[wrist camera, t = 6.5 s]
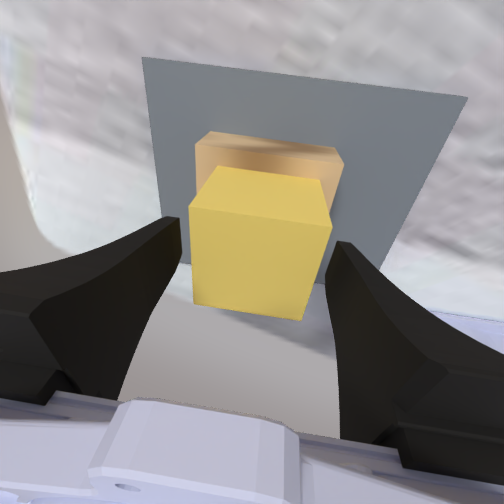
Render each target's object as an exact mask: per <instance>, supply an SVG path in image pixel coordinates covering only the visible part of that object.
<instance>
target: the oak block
mask: <svg viewBox="0 0 504 504" xmlns="http://www.w3.org/2000/svg"><path fill="white" fill-rule="evenodd" d="M195 160H196V190H197V194H198V192H199V191H200V189H201V188H202V187H203V185H204V184H205V182H206V181H207V180H208V178H209V177H210V175H211V174H212V173H213V171H214V170H215V168H216V167H217V166H223V167H231V168H238V169H245V170H252V171H259V172H267V173H274V174H281V175H288V176H295V177H303V178H310V179H317V180H320V183H321V187H322V190H323V194H324V198H325V201H326V205H327V209H328V212H330V209H331V206H332V203H333V199H334V196H335V193H336V190H337V186H338V183H339V180H340V177H341V174H342V170H343V167H344V163H343V161H342V159H341V158H340V156H339V154H338V152H337V150H336V149H335V148H334V147H327V146H319V145H311V144H304V143H296V142H289V141H281V140H274V139H266V138H258V137H251V136H243V135H236V134H228V133H221V132H213V131H210V132H209V133H208V134H207V135H205V136H204V137H203V138H202V139H201V140H199V141H198V142H197V143H196V144H195Z"/></svg>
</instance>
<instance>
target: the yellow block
mask: <svg viewBox="0 0 504 504" xmlns="http://www.w3.org/2000/svg"><path fill="white" fill-rule="evenodd" d="M188 208H189V227H190V246H191V264H192V283H193V302H194V304H196V305H202V306H209V307H215V308H221V309H228V310H234V311H240V312H247V313H253V314H259V315H266V316H272V317H278V318H285V319H291V320H297V321H301V320H302V317H303V314H304V311H305V308H306V305H307V302H308V299H309V296H310V293H311V290H312V287H313V284H314V281H315V278H316V275H317V272H318V269H319V266H320V263H321V260H322V258H323V255H324V252H325V249H326V246H327V243H328V240H329V237H330V234H331V231H332V228H333V227H332V223H331V219H330V216H329V212H328V209H327V205H326V201H325V198H324V194H323V190H322V187H321V183H320V180H317V179H310V178H303V177H295V176H288V175H281V174H274V173H267V172H259V171H252V170H245V169H238V168H231V167H223V166H217V167H216V168H215V170H214V171H213V173H212V174H211V175H210V177H209V178H208V180H207V181H206V182H205V184H204V185H203V187H202V188H201V189H200V191H199V192H198V194H197V195H196V196H195V198H194V199H193V201H192V202H191V203H190V205H189V206H188Z"/></svg>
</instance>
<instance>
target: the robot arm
mask: <svg viewBox="0 0 504 504" xmlns="http://www.w3.org/2000/svg"><path fill="white" fill-rule="evenodd" d="M181 256H182V241H181V229H180V218H178V217H171V216H165V217H163V218H161V219H158V220H156V221H154V222H153V223H151V224H149V225H147V226H145V227H143V228H141V229H139V230H137V231H135V232H133V233H131V234H129V235H127V236H124V237H122V238H120V239H118V240H116V241H114V242H111V243H109V244H107V245H104V246H102V247H99V248H96V249H93V250H91V251H88V252H85V253H82V254H79V255H75V256H72V257H68V258H65V259H61V260H58V261H54V262H50V263H46V264H42V265H37V266H33V267H28V268H23V269H18V270H13V271H7V272H0V504H504V322H498V321H491V320H485V319H478V318H471V317H465V316H458V315H452V314H445V313H439V312H432V311H428V310H426V309H425V308H423V307H422V306H420V305H419V304H418V303H416V302H415V301H414V300H412V299H411V298H410V297H409V296H407V295H406V294H405V293H403V292H402V291H401V290H400V289H399V288H397V287H396V286H395V285H394V284H393V283H392V282H391V281H389V280H388V279H387V278H386V277H385V276H384V275H383V274H382V273H381V272H380V271H379V270H378V269H377V268H376V267H375V266H374V265H373V264H372V263H371V262H370V261H369V260H368V259H367V258H366V257H365V256H364V255H363V254H362V253H361V252H360V251H359V250H358V249H357V248H356V247H355V246H354V245H353V244H352V243H351V242H344V241H337V242H336V245H335V248H334V250H333V253H332V256H331V259H330V262H329V264H328V267H327V270H326V273H325V291H326V298H327V303H328V309H329V314H330V319H331V324H332V328H333V333H334V339H335V346H336V357H337V368H338V369H337V370H338V386H339V409H340V439H336V438H330V437H325V436H318V435H313V434H307V433H301V432H295V431H293V430H292V429H291V428H289V427H288V426H286V425H285V424H284V423H282V422H280V421H276V420H273V419H270V418H266V417H262V416H258V415H253V414H247V413H241V412H235V411H229V410H223V409H217V408H211V407H206V406H199V405H194V404H188V403H182V402H176V401H170V400H165V399H158V398H139V397H138V398H135V399H132V400H129V401H127V402H120V401H117V399H118V396H119V394H120V391H121V388H122V385H123V382H124V379H125V376H126V374H127V371H128V368H129V366H130V363H131V361H132V358H133V355H134V353H135V350H136V348H137V345H138V343H139V340H140V338H141V336H142V333H143V331H144V329H145V327H146V324H147V322H148V320H149V317H150V315H151V313H152V311H153V309H154V308H155V306H156V304H157V303H158V301H159V299H160V297H161V296H162V294H163V292H164V290H165V289H166V287H167V285H168V284H169V282H170V280H171V278H172V277H173V275H174V273H175V271H176V269H177V266H178V264H179V261H180V259H181Z"/></svg>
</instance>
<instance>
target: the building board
mask: <svg viewBox="0 0 504 504" xmlns="http://www.w3.org/2000/svg"><path fill="white" fill-rule="evenodd" d="M142 64H143V72H144V80H145V88H146V95H147V103H148V111H149V119H150V127H151V135H152V143H153V151H154V159H155V166H156V174H157V182H158V190H159V198H160V206H161V214H162V218H163V217H165V216H171V217H178V218H180V229H181V241H182V256H181V259H180V261H179V262H182V263H188V264H191V246H190V227H189V208H188V206H189V205H190V203H191V202H192V201H193V199H194V198H195V196H196V195H197V190H196V160H195V144H196V143H197V142H198V141H199V140H201V139H202V138H203V137H204V136H205V135H207V134H208V133H209V132H210V131H213V132H221V133H228V134H236V135H243V136H251V137H258V138H266V139H274V140H281V141H289V142H296V143H304V144H311V145H319V146H327V147H334V148H335V149H336V150H337V152H338V154H339V156H340V158H341V159H342V161H343V163H344V167H343V170H342V174H341V177H340V180H339V183H338V186H337V190H336V193H335V196H334V199H333V203H332V206H331V209H330V212H329V216H330V219H331V223H332V227H333V228H332V231H331V234H330V237H329V240H328V243H327V246H326V249H325V252H324V255H323V258H322V260H321V263H320V266H319V269H318V272H317V275H316V278H315V281H314V283H321V284H325V273H326V270H327V267H328V264H329V262H330V259H331V256H332V253H333V250H334V248H335V245H336V242H337V241H344V242H351V243H352V244H353V245H354V246H355V247H356V248H357V249H358V250H359V251H360V252H361V253H362V254H363V255H364V256H365V257H366V258H367V259H368V260H369V261H370V262H371V263H372V264H373V265H374V266H375V267H376V268H377V269H378V270H379V269H380V267H381V265H382V263H383V261H384V259H385V258H386V256H387V254H388V252H389V250H390V248H391V246H392V244H393V242H394V240H395V238H396V236H397V234H398V232H399V231H400V229H401V227H402V225H403V223H404V221H405V219H406V217H407V215H408V213H409V211H410V209H411V207H412V205H413V204H414V202H415V200H416V198H417V196H418V194H419V192H420V190H421V188H422V186H423V184H424V182H425V180H426V178H427V176H428V175H429V173H430V171H431V169H432V167H433V165H434V163H435V161H436V159H437V157H438V155H439V153H440V151H441V149H442V148H443V146H444V144H445V142H446V140H447V138H448V136H449V134H450V132H451V130H452V128H453V126H454V124H455V122H456V121H457V119H458V117H459V115H460V113H461V111H462V109H463V107H464V105H465V103H466V101H467V99H468V97H463V96H456V95H447V94H439V93H431V92H423V91H415V90H407V89H399V88H391V87H383V86H375V85H366V84H358V83H350V82H342V81H334V80H326V79H318V78H310V77H302V76H293V75H285V74H277V73H269V72H261V71H253V70H245V69H237V68H229V67H220V66H212V65H204V64H196V63H188V62H180V61H172V60H164V59H156V58H147V57H142Z"/></svg>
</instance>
